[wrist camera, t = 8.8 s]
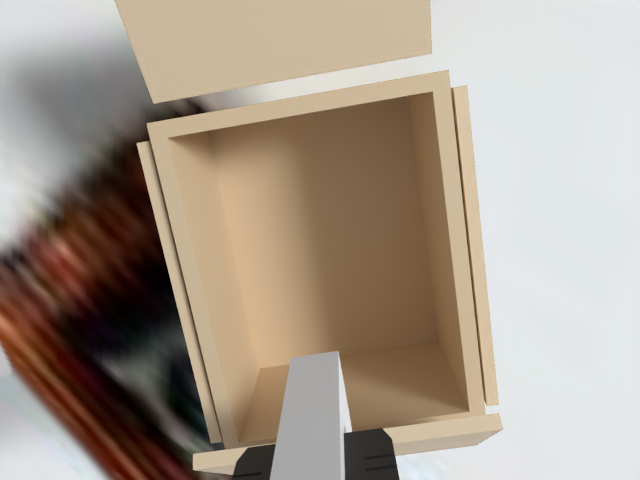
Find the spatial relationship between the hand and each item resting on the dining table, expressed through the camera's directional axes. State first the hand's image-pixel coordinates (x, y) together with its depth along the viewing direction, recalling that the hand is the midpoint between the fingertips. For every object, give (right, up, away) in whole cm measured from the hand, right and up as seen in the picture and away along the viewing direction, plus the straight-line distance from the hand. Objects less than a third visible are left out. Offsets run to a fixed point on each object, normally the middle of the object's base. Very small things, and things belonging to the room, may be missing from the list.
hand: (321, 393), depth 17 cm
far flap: (+2, -7, +11) cm, 13 cm away
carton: (+1, +5, +18) cm, 19 cm away
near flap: (-1, +12, +7) cm, 14 cm away
